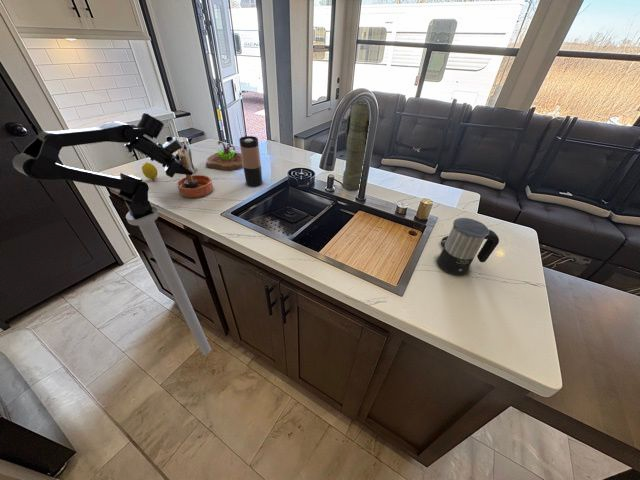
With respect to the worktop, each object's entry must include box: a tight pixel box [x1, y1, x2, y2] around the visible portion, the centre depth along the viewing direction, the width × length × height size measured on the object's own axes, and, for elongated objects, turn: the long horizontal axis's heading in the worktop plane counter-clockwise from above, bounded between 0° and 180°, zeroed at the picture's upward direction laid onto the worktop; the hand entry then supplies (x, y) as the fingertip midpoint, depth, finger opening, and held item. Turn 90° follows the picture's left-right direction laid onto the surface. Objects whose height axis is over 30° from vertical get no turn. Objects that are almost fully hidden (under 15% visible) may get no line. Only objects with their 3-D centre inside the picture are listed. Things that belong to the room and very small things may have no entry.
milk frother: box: [436, 217, 500, 276], centre depth 78 cm, size 14×16×15 cm
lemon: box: [141, 161, 158, 181], centre depth 113 cm, size 6×6×8 cm
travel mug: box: [238, 135, 263, 188], centre depth 111 cm, size 8×8×20 cm
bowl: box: [176, 174, 214, 199], centre depth 108 cm, size 13×13×4 cm
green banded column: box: [342, 101, 370, 192], centre depth 108 cm, size 9×12×35 cm
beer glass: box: [174, 136, 197, 173], centre depth 120 cm, size 7×7×15 cm
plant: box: [205, 140, 244, 171], centre depth 131 cm, size 20×20×11 cm
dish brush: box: [180, 154, 199, 189], centre depth 103 cm, size 5×5×14 cm
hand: (191, 172), depth 103 cm, fingers closed on dish brush, 2 cm apart
